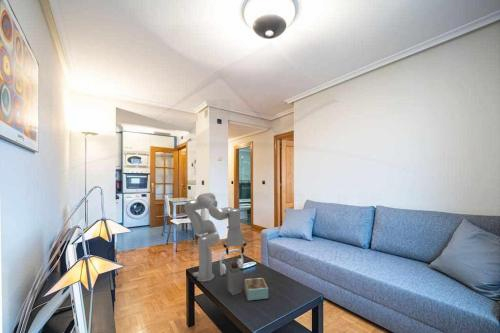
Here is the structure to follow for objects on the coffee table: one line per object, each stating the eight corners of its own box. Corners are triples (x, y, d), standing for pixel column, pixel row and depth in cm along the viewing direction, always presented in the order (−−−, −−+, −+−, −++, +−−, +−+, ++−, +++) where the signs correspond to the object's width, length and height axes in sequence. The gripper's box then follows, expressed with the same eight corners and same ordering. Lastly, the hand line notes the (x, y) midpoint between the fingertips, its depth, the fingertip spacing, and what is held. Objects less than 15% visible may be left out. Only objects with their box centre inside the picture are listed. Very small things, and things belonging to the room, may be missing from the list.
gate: (247, 300, 131) (247, 290, 131) (247, 299, 132) (247, 289, 132) (268, 298, 134) (268, 288, 134) (267, 297, 135) (267, 287, 135)
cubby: (247, 300, 132) (247, 289, 133) (244, 289, 145) (244, 279, 145) (267, 298, 135) (267, 287, 135) (263, 287, 147) (263, 277, 147)
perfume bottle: (242, 292, 142) (241, 264, 142) (233, 295, 138) (233, 267, 138) (236, 287, 147) (236, 260, 147) (227, 290, 143) (227, 263, 144)
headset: (222, 277, 161) (222, 253, 161) (218, 274, 166) (218, 250, 167) (244, 270, 172) (244, 248, 172) (240, 267, 178) (240, 245, 178)
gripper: (221, 229, 138) (221, 257, 138) (248, 228, 141) (248, 255, 140) (221, 227, 146) (221, 252, 145) (246, 225, 148) (247, 250, 148)
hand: (235, 253), depth 143 cm, fingers open, 9 cm apart
